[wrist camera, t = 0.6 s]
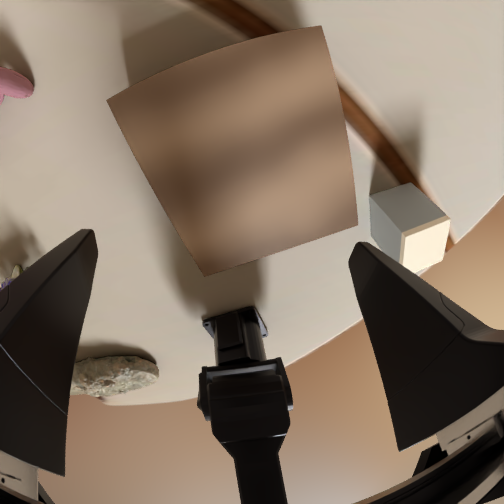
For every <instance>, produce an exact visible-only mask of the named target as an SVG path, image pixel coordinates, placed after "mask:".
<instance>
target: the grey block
mask: <svg viewBox="0 0 504 504" xmlns="http://www.w3.org/2000/svg"><path fill="white" fill-rule="evenodd" d="M369 203H370V222H371V236H372V238H373V239H374V240H375V242H376V243H377V245H378V246H379V247H380V249H381V250H382V252H383V253H385V254H386V255H388V256H389V257H391V258H392V259H394V260H395V261H397V262H398V263H400V264H401V265H403V266H404V267H406V268H407V269H409V270H410V271H411V272H413V273H415V272H418V271H420V270H422V269H424V268H427V267H429V266H431V265H433V264H435V263H438V262H440V261H442V259H443V255H444V250H445V246H446V241H447V236H448V231H449V226H450V220H451V219H450V218H449V217H448V216H447V215H446V214H445V213H444V212H443V211H442V210H441V209H440V208H439V207H438V206H437V205H436V204H435V203H433V202H432V201H431V200H430V199H429V198H428V197H427V196H426V195H425V194H424V193H422V192H421V191H420V190H419V189H418V188H417V187H416V186H414V185H413V184H412V183H411V182H410V183H407V184H404V185H401V186H397V187H394V188H391V189H388V190H385V191H382V192H378V193H375V194H372V195H369Z"/></svg>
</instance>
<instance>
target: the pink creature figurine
mask: <svg viewBox="0 0 504 504" xmlns="http://www.w3.org/2000/svg"><path fill="white" fill-rule="evenodd" d="M33 91H34V87H33V85H32V83H31V82H30V81H29V80H28V79H27V78H26V77H24V76H23V75H21V74H20V73H18V72H16V71H13V70H11V69H7V68H3V67H0V104H1V103H2V101H3V99H4V95H7V96H11V97H14V98H26V97H29V96H31V95H32V93H33ZM3 94H4V95H3Z"/></svg>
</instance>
